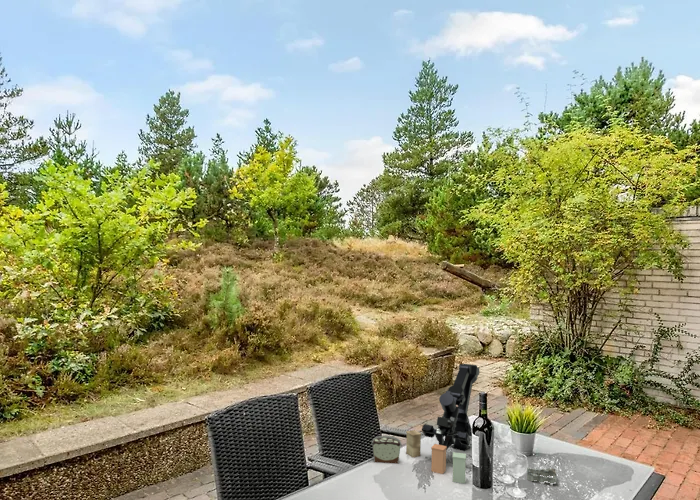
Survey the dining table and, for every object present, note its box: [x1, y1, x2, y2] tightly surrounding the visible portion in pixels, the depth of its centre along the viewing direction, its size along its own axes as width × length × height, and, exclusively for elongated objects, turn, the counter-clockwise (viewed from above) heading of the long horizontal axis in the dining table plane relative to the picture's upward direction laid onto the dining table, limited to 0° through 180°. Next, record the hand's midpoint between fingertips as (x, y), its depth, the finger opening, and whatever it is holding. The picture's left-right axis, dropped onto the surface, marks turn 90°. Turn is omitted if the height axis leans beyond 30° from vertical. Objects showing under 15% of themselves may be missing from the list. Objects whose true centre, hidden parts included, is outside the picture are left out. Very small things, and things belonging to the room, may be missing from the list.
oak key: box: [405, 429, 422, 459], centre depth 190 cm, size 4×5×9 cm
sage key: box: [451, 451, 467, 484], centre depth 169 cm, size 4×5×9 cm
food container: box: [370, 435, 403, 465], centre depth 185 cm, size 12×6×10 cm, turn 84°
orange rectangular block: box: [430, 443, 448, 475], centre depth 176 cm, size 4×5×9 cm
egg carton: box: [526, 467, 558, 483], centre depth 173 cm, size 11×8×4 cm
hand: (440, 454), depth 178 cm, fingers closed, pressing on orange rectangular block
